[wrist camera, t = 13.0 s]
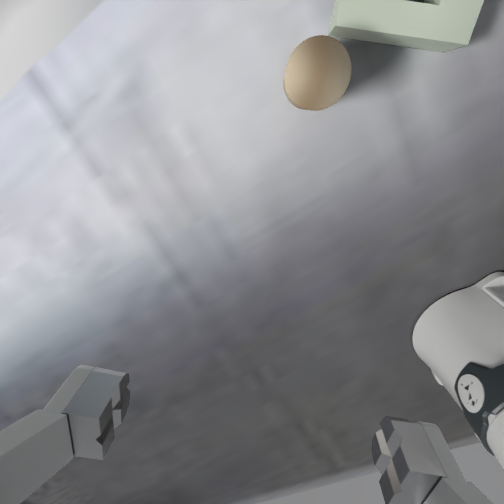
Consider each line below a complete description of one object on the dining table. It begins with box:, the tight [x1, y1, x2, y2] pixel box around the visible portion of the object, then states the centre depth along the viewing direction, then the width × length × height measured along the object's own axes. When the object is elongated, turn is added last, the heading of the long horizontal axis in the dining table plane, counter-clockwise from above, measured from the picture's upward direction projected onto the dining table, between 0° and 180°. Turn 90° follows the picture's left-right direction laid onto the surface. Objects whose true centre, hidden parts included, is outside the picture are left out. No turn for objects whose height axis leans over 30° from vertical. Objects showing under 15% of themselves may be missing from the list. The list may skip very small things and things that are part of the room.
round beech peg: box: [284, 35, 351, 110], centre depth 27 cm, size 5×5×8 cm
